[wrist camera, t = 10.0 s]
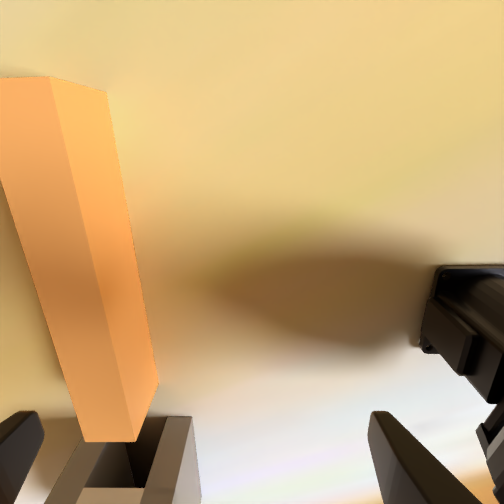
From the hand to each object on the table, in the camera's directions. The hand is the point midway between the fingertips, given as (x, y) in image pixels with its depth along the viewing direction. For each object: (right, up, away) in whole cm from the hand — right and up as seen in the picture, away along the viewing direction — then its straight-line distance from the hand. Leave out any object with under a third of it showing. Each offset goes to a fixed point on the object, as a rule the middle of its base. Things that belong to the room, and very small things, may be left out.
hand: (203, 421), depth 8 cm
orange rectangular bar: (-8, +4, +12) cm, 15 cm away
